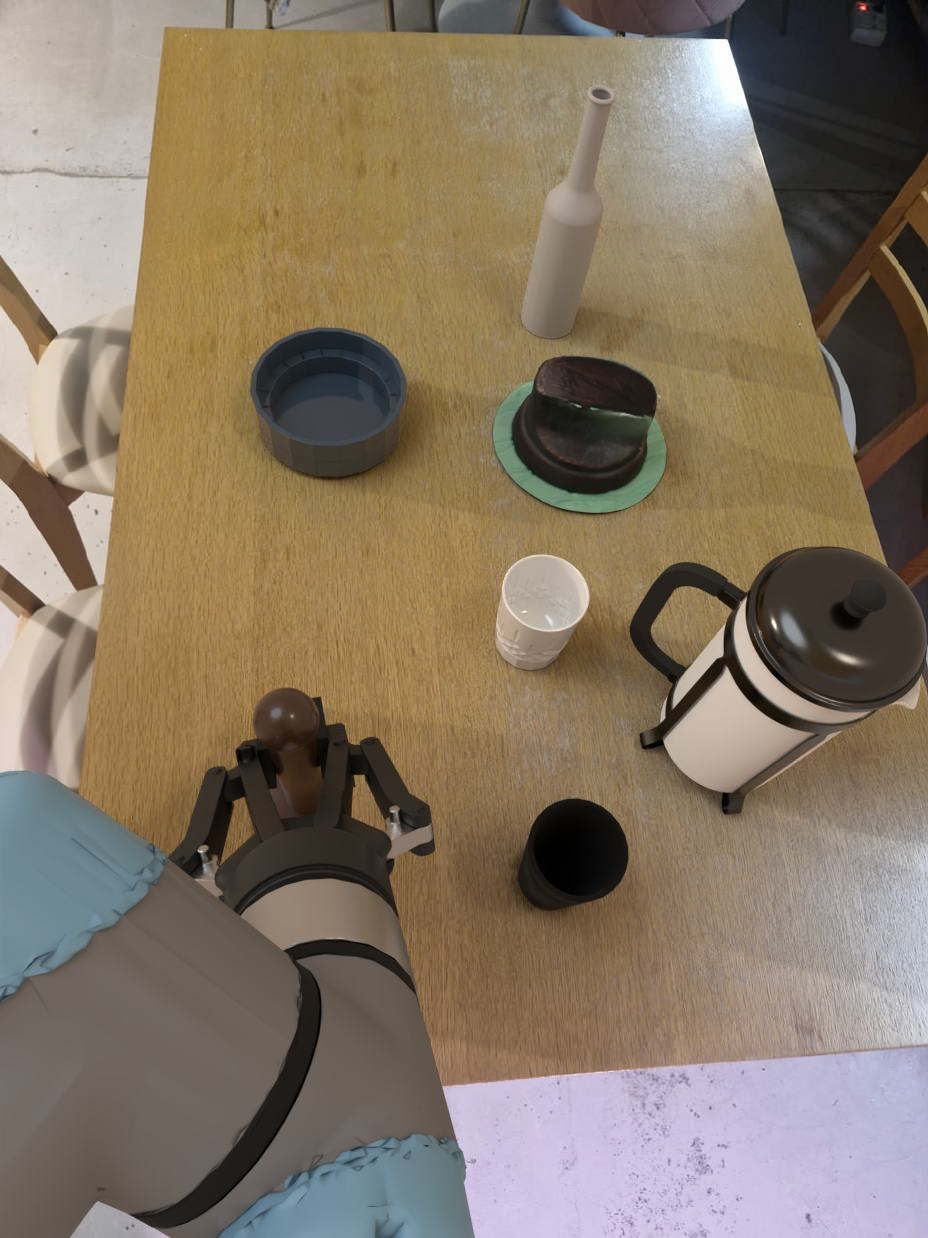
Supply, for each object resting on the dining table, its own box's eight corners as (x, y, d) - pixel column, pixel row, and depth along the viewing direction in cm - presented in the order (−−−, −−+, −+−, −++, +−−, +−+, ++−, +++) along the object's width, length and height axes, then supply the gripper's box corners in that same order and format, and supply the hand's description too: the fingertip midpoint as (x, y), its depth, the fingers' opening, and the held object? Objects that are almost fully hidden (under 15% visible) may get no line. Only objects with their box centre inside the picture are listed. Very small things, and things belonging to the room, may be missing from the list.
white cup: (531, 591, 87) (548, 539, 78) (583, 647, 85) (607, 599, 76) (472, 633, 84) (484, 584, 76) (524, 691, 82) (543, 648, 73)
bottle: (578, 337, 104) (643, 113, 79) (526, 340, 103) (575, 114, 78) (567, 298, 107) (626, 71, 82) (516, 300, 106) (560, 70, 81)
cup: (532, 817, 77) (558, 779, 66) (606, 863, 75) (645, 831, 65) (489, 892, 73) (509, 865, 63) (567, 941, 72) (601, 922, 61)
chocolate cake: (658, 369, 102) (692, 510, 93) (513, 418, 108) (532, 555, 99) (630, 282, 89) (665, 437, 81) (467, 343, 95) (484, 493, 87)
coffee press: (772, 661, 86) (950, 485, 60) (801, 818, 79) (1019, 698, 52) (605, 655, 85) (711, 472, 58) (619, 814, 77) (747, 689, 51)
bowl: (252, 479, 90) (245, 443, 85) (261, 364, 97) (255, 324, 92) (405, 482, 92) (407, 447, 87) (403, 368, 99) (405, 330, 94)
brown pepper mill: (265, 840, 60) (225, 760, 43) (269, 763, 62) (232, 660, 46) (345, 838, 60) (335, 758, 44) (346, 761, 63) (337, 659, 47)
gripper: (136, 1066, 35) (182, 791, 57) (502, 975, 38) (413, 747, 60) (94, 917, 33) (158, 690, 55) (488, 832, 36) (401, 649, 58)
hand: (292, 720), depth 57 cm, fingers closed on brown pepper mill, 3 cm apart
